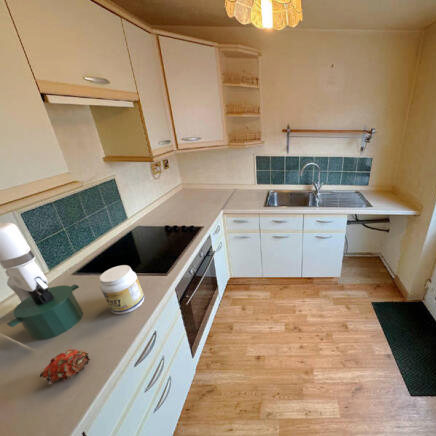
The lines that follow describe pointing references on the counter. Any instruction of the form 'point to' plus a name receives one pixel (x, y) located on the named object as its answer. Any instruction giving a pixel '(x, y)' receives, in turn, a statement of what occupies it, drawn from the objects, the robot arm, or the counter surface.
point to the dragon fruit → (65, 365)
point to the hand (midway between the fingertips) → (43, 299)
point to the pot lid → (35, 306)
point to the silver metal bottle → (17, 289)
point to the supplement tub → (121, 289)
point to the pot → (52, 319)
